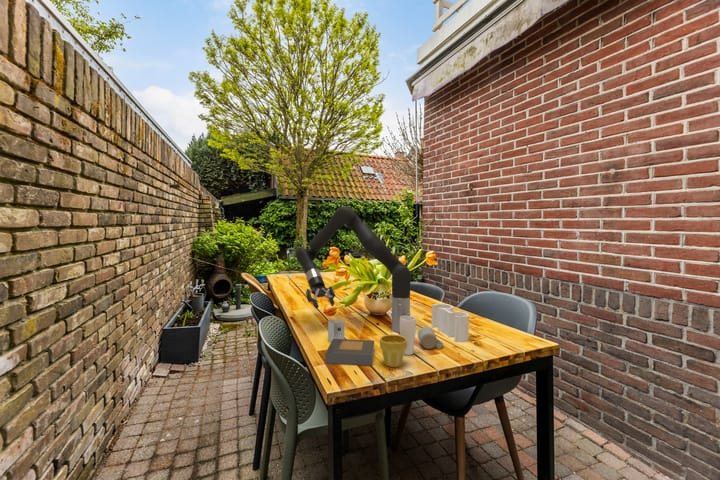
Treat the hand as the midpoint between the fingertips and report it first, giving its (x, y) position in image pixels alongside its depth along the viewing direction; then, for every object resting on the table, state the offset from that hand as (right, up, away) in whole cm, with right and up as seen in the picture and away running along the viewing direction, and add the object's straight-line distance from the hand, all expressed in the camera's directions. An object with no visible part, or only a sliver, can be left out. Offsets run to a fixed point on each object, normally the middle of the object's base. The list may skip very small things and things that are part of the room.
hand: (325, 306), depth 155 cm
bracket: (+62, -15, +4) cm, 64 cm away
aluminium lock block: (+6, -14, -8) cm, 18 cm away
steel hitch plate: (+13, -15, -25) cm, 32 cm away
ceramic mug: (+48, -15, -13) cm, 52 cm away
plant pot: (+30, -16, -32) cm, 46 cm away
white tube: (+37, -15, -21) cm, 45 cm away
